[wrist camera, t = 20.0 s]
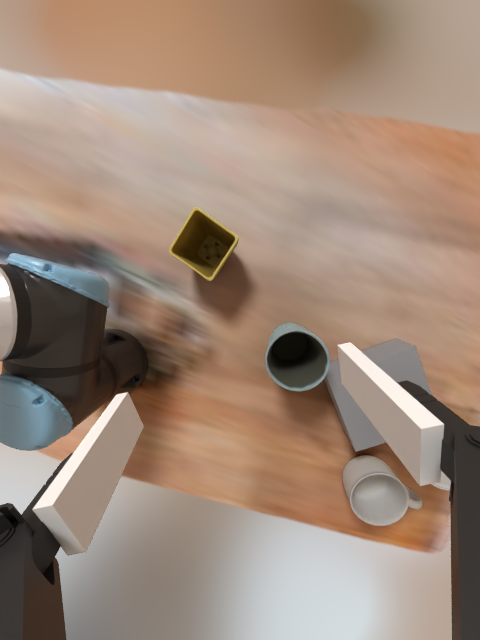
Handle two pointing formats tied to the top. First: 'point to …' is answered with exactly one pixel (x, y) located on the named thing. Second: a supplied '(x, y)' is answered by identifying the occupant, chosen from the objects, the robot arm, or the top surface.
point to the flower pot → (203, 244)
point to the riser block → (397, 364)
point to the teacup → (377, 491)
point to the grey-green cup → (296, 358)
